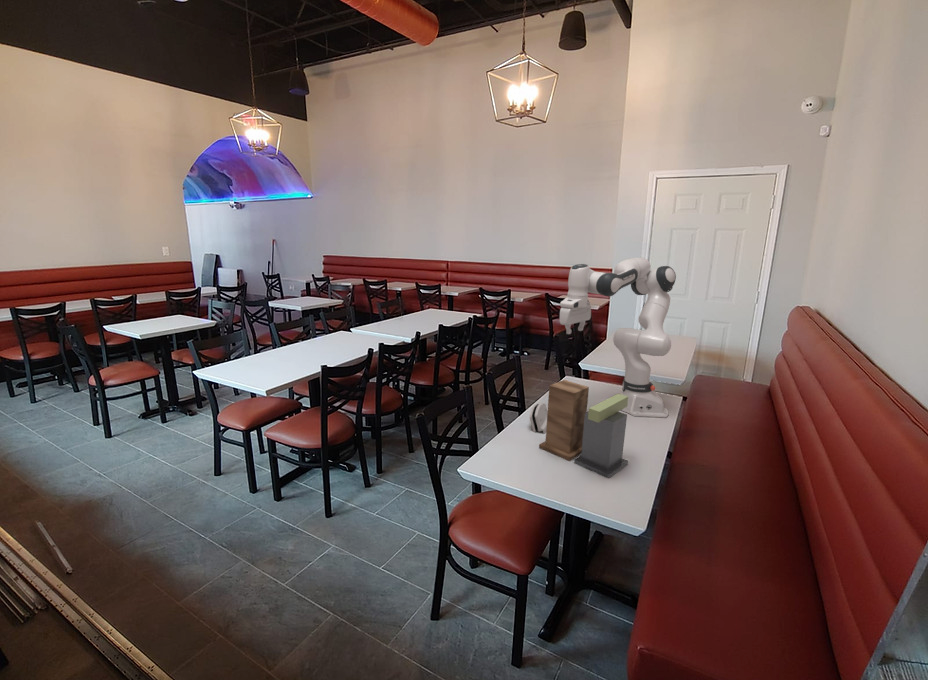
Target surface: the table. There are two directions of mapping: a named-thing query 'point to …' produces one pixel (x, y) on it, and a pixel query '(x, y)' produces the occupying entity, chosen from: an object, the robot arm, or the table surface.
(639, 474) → the table surface
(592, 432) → the block
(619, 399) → the pale green plank
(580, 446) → the brown wooden pedestal
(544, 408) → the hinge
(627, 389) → the robot arm
